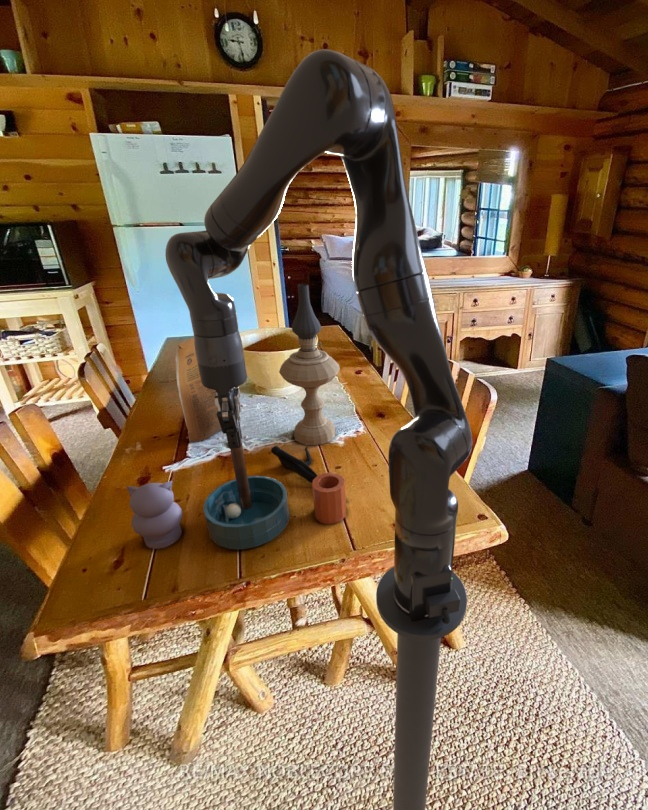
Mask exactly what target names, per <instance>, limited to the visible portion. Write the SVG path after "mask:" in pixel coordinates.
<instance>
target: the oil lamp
mask: <svg viewBox="0 0 648 810" xmlns="http://www.w3.org/2000/svg"><path fill="white" fill-rule="evenodd" d="M297 293H298V304H297V305H298V306H297V310H296V313H295V314H296V315H295V317H294V319H293V322H292V325H291V331H292V333H293V334H294V335H296V336H297V339H298V345H300V346H299V347H300V348H299V349H298V351H294V352H292V353H291V354H290V355H289V357H288V358H287V359H285V360H284V361H283V363H282V364H281V365H280V368H279V371H278V373H279V375H280V376H281V378H282V379H283V380H284V381H285V382H287V383H288V384H291V385H293V386H296V387H300V388H302V389H304V392H305V396H304V398H303V400H302V401H301V403H300V406H301V408H302V410H303V412H304V415H303V418H302V419H301V420H299V421H298V422H297V423H296V424H295V426H294V431H293V437H294V439H295V441H296V442H298V443H299V444H302V445H306V446H318V445H323V444H326V443H329V442H330V441H332V440H333V439H335V436H336V426H335V424H334V423H333V421H332V420H331V419H329V418H327V417H325V415H324V414H323V407H325V401H324V400H323V398H321V397H320V395H319V394H318V391H319V388H320V387H321V386H323V385H326V384H328V383H330V382H332V381H333V380H334V379H335V377H336V376H337V375H338V374H339V373H340V369H341V368H340V364H339V363H338V362H337V361H336V360H335V359H334V358H333V357H332V356H331V355H329V354H328V353H327V352H326V351H323V350H319V349H318V348H317V347H318V346H319V347H320V348H321V347H322V346H323V345H322V342H321V341H318V344H317V335H318V334H319V333H320V332H321V330H322V326H321V324H320V321H319V319H318V318H317V317H316V315H315V312H314V310H313V307H312V305H311V299H310V290H309V284H307V283H299V284H297ZM316 346H317V347H316Z"/></svg>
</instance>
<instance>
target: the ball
mask: <svg viewBox="0 0 648 810" xmlns="http://www.w3.org/2000/svg"><path fill="white" fill-rule="evenodd" d="M225 513H226V515H227V517H229V518H232V519H234V518H237V517H238V516H239V515H240V514H241V507H240V506H239V505H238V504H236V503H232V504H229V505H228V506H227V508H226V510H225Z"/></svg>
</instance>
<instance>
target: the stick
mask: <svg viewBox="0 0 648 810" xmlns="http://www.w3.org/2000/svg"><path fill="white" fill-rule="evenodd" d="M238 424H239V422H238ZM239 433H240V428H239ZM240 439H241V434H240ZM243 447H244V446H243V441H242V439H241V447H240V448H234V449H230V448H229V450H230V454H231V460H232V466H233V471H234V477H235V479H236V483H237V489H238V494H239V500H240V505H241V509H243V510H247V509H250V508H251V507H252V501H251V495H250V489H249V483H248V472H247V465H246V460H245V459H246V458H245V453H244V448H243Z"/></svg>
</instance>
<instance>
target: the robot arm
mask: <svg viewBox="0 0 648 810" xmlns="http://www.w3.org/2000/svg"><path fill="white" fill-rule="evenodd" d="M395 112H396V111H395V106H394V102H393V98H392V94H391V93H390V90H389V87H388V86H387V84H386V82H385V80H384V79H383V78H382V77H381V75H380V74H379V73H378V72H376V71H375V70H374V69H373V68H371V67H370V66H369V65H367V64H364V63H362V62H361V61H358V60H356V59H355V58H352V57H350V56H348V55H347V54H344V53H342V52H339V51H336V50H333V49H329V48H326V49H325V48H324V49H317V50H314V51H313V52H310V53H309V54H308V55H306V56H305V57H304V58H303V59H302V60H301V61H300V63H299V64H298V65H297V66H296V68H294V70H293V72H292V74H291V75H290V77H289V79H288V80H287V82H286V83H285V85H284V88H283V89H282V91H281V94H280V95H279V97H278V99H277V101H276V103H275V105H274V107H273V109H272V110H271V113H270V114H269V116H268V118H267V120H266V121H265V124H264V126H263V127H262V129H261V131H260V133H259V135H258V136H257V139H256V141H255V142H254V144H253V146H252V148H251V150H250V152H249V154H248V155H247V157H246V159H245V161H244V162H243V164H242V165H241V167H240V168H239V170H238V171H237V172H236V174H235V175H234V177H232V179H231V180H230V181H229V183H228V184H227V185H226V186H225V187H224V189H223V190H222V191H220V194H219V195H218V196H217V197H216V198H215V199H214V200H213V202H211V204H210V205H209V207H208V209H207V210H206V212H205V215H204V219H203V220H204V221H203V222H204V228H205V230H199V231H196V230H195V231H187V232H178V233H175V234H173V235H172V236H170V237H169V239H168V241H167V243H166V246H165V261H166V265H167V267H168V270H169V272H170V275H171V276H172V278H173V280H174V282H175V284H176V286H177V288H178V290H179V293H180V295H181V296H182V298H183V301H184V303H185V305H186V307H187V309H188V312H189V317H190V318H189V319H190V324H191V328H192V332H193V337H194V346H195V352H196V357H197V362H198V367H199V372H200V377H201V382H202V385H203V386H204V387H206V388H208V389H213V390H216V396H214V400H215V405H216V406H217V408H218V411H217V417H218V420H219V423H220V426H221V429H222V430H221V432H222V434H223V435H226V436H225V437H226V441H227V447H228V448H229V450H230V449H234V448H240V447H241V440H242V439H243V434H242V428H241V427H242V426H241V422H240V421H241V419H242V417H241V412H242V409H241V408H242V404H241V399H240V397H241V390H240V387H239V386H242V385H243V384H245V383H246V381H247V379H248V372H247V367H246V359H245V352H244V345H243V341H242V337H241V334H240V329H239V323H238V316H237V310H236V305H235V301H234V298H233V297H231V296H230V295H229V294H228V293H224V292H214V291H213V289H212V288H211V285H210V283H209V280H213V279H218V278H222V277H226V276H228V275H231V274H232V273H234V272H235V271H236V270H237V269H238V268H239V267H240V266H241V264H242V263H243V261H244V259H245V257H246V255H247V253H248V251H249V249H250V246H251V245H253V243H255V242H256V240H257V239H258V238H259V237H261V235H263V233H264V232H266V230H268V228H269V227H270V226H271V225H272V224H273V223H274V221H275V220H276V219H277V218H278V215H279V214H280V213H281V209H282V207H283V204H284V201H285V196H286V193H287V191H288V188H289V185H290V184H291V182H292V181H293V179H294V178H295V177H296V175H297V174H299V172H300V171H301V170H302V169H304V168H305V167H306V166H307V165H309V164H310V163H312V162H313V161H314V160H315V159H318V157H320V156H322V155H323V154H325V153H327V154H331V155H337V156H340V158H341V160H342V162H343V165H344V168H345V172H346V175H347V178H348V181H349V184H350V188H351V192H352V196H353V201H354V207H355V229H354V241H353V249H352V261H351V262H352V263H351V264H352V265H351V266H352V269H351V270H352V279H353V285H354V290H355V291H356V296H357V300H358V303H359V307H360V310H361V313H362V317H363V320H364V323H365V326H366V328H367V330H368V332H369V334H370V335H371V337H372V339H373V340H374V341H375V343H376V344H377V346H379V348H380V349H381V350H382V352H383V353H384V354H385V355H386V356H387V357H388V358H389V360H390V361H391V362H392V363H393V364H394V365H395V367H396V368H397V369H398V370H399V372H400V373H401V375H402V377H403V379H404V381H405V383H406V386H407V389H408V392H409V395H410V400H411V403H412V409H413V416H414V418H412V419H411V420H409V422H407V423H406V424H405V425H403V426H402V427H401V428H399V429H398V430H397V431H396V432H394V434H393V435H392V437H391V440H390V442H389V446H388V447H389V448H388V454H387V455H388V459H387V460H388V461H387V462H388V463H387V464H388V482H389V484H388V485H389V495H390V499H391V502H392V505H393V507H394V516H395V517H394V559H393V561H394V563H393V566H394V587H393V597H394V601H395V603H396V605H397V606H398V608H399V609H400V610H401V611H402V612H404V613H405V614H407V615H409V617H410V619H411V621H412V622H414V621H419V620H423V619H428V618H433V617H436V616H441V615H444V618H443V619H442V621H443V623H445V624H448V623H449V622H450V616H449V613H454V612H458V611H459V606H460V598H459V596H458V594H457V592H456V590H455V589H452V590H451V582H452V572H453V564H454V554H455V544H456V533H457V525H458V515H459V502H458V498H457V496H456V494H455V493H454V492H453V490H451V489H450V488H449V485H450V480H451V477H452V476H453V475H454V474H455V473H456V472H457V470H458V469H459V468H460V467H462V465H463V464H464V463H465V462H466V461H467V459H468V458H469V456H470V454H471V453H472V447H473V434H472V429H471V426H470V425H471V424H470V422H469V419H468V417H467V414H466V410H465V408H464V405H463V402H462V400H461V397H460V394H459V391H458V388H457V385H456V383H455V379H454V377H453V374H452V370H451V366H450V363H449V358H448V355H447V354H448V353H447V350H446V346H445V342H444V338H443V334H442V331H441V327H440V323H439V319H438V315H437V309H436V304H435V299H434V294H433V291H432V286H431V281H430V277H429V273H428V272H427V271H428V270H427V266H426V263H425V260H424V255H423V252H422V248H421V243H420V240H419V239H420V238H419V236H418V230H417V227H416V222H415V219H414V214H413V210H412V206H411V203H410V198H409V195H408V191H407V185H406V181H405V173H404V168H403V160H402V152H401V146H400V139H399V132H398V126H397V125H398V124H397V118H396V113H395ZM238 422H239V424H238ZM239 428H240V433H239ZM240 434H241V439H240Z"/></svg>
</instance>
